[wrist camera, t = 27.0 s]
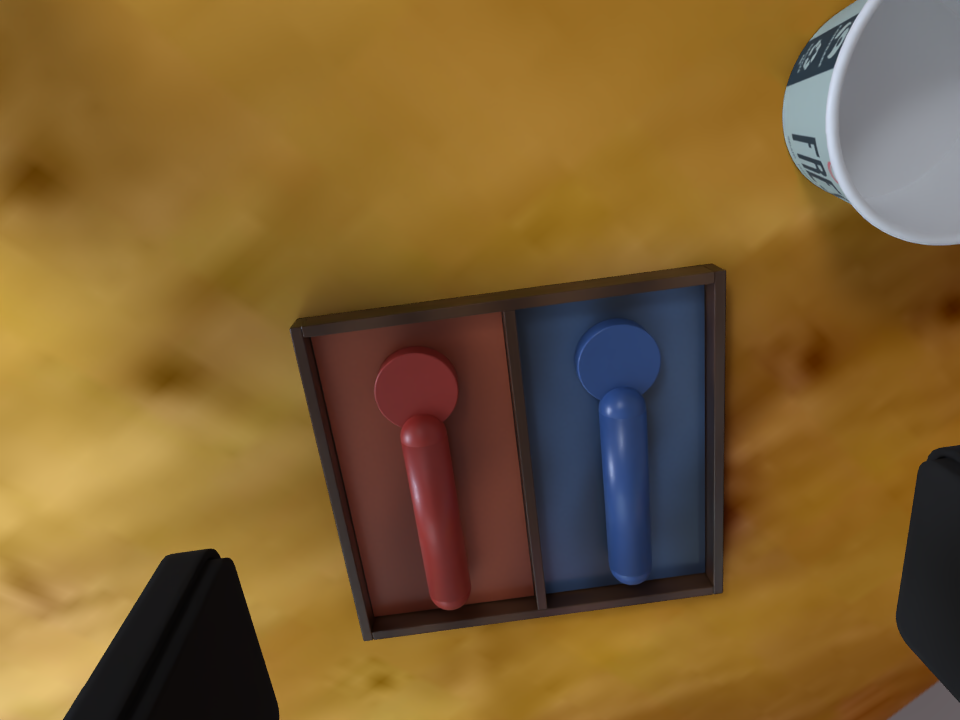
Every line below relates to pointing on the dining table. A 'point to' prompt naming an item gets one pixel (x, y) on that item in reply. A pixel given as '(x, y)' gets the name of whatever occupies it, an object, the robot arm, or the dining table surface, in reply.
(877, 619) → the dining table surface
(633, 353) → the blue spoon
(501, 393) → the sorting tray
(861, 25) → the food container
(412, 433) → the red spoon
